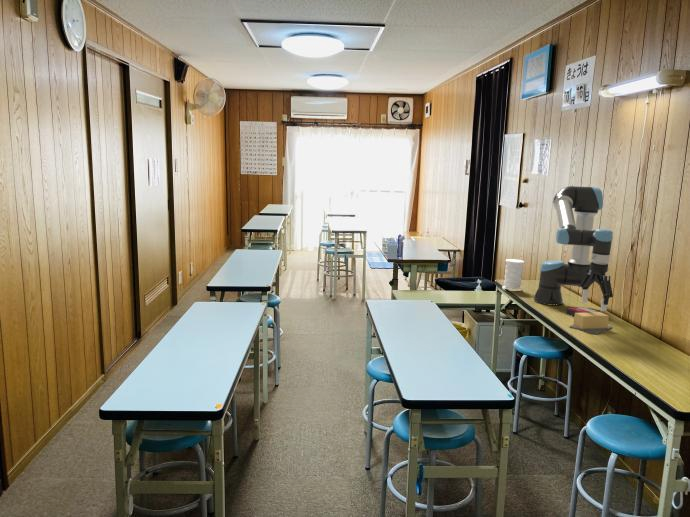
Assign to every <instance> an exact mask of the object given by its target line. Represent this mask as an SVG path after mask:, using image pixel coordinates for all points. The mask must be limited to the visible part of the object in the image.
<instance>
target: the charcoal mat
mask: <svg viewBox="0 0 690 517" xmlns="http://www.w3.org/2000/svg"><path fill="white" fill-rule="evenodd" d="M569 328H571V329H574V328H575V329H574V330H578V329H579V331H582V330H583V332H587V333H590V334H594V335H599V333H600V334H602V333H604V332H607V331H609V330H611V329H613V326H610V325H608V327H607V328H593V329H581V328H579V327H577V326H574V325H573V324H572V325H569ZM601 332H602V333H601Z"/></svg>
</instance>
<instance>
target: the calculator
mask: <svg viewBox="0 0 690 517" xmlns="http://www.w3.org/2000/svg"><path fill="white" fill-rule="evenodd" d="M588 312H599V311H598V310H594V309H591V308H587V307H584V306H581V307H568V308H566V313H567V314H566V315H568V314H569V315H568V316H571V315H572V316H571V317H573V316H575V313H588ZM602 313H603V312H602ZM603 314H605V313H603Z"/></svg>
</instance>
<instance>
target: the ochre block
mask: <svg viewBox="0 0 690 517" xmlns="http://www.w3.org/2000/svg"><path fill="white" fill-rule="evenodd" d="M609 317H610V315H608V314H605V313H604V314H603V312H602V311H598V312H588V313H575V316H574V317H573V324H572V325H574V326H577V327H579V328H581V329H593V328H607V327H608V326H609V320H610V318H609Z"/></svg>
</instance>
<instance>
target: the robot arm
mask: <svg viewBox="0 0 690 517" xmlns="http://www.w3.org/2000/svg"><path fill="white" fill-rule="evenodd" d="M552 203H553V204H552V205H553V208H554V209H555V210H556V215H557V221H558V222H557V223H558V227H559V228H558V229H557V231H556V234H555V235H556V236H555V241H556V243H557V244H560V245H565V246H566V245H570V246H572V251H571V258H570V259H569V260H568V261H567V263H565V262H564V261H563V260H558V259H557V260H556V259H554V260H545V261H542V263H541V265H540V269H539V271H540V272H539V280H538V288H537V289H536V291H535V294H534V296H533V301H534V300H535V301H537V302H540V303H539V304H541V303H545V304H544V305H546V304H555V305H554V306H557V305H556V304H562V305H563V302H564V299H563V295H562V286H572V287H579V288H581V289H582V290H581V302H580V303H581V304H587V303H588V300H589V293H590V292H589V291H590V287H591V286H592V284H594V283H596V284H597V285H599V288H600V290H601V294H602V296H601V302H600V308H599V309H600V311H599V312H607V309H608V305H609V300H610V298H614V297H613V296H614V294H613V290H612V282H611V276H610V275H606V273H607V272H608V271H609V263H610V256H611V250H612V242H613V234H614V232H613V230H611V229H606V228H597V229H593V228H594V221H595V220H594V219H595V216H596V215H598V213H599V211H600V210H602V208H603V204H604V197H603V191H602V190H601V188H599V187H595V186H575V185H574V186H573V185H569V186H566V187H563V188H561V189H559V190H558V191H557V192H556V193H555V195H554V197H553V201H552ZM573 209H574V211H573ZM574 213H575V214H576V217H574ZM575 218H576V219H575ZM591 247H592V252H590V250H591ZM590 253H591V259H590V260H591V261H590V260H589V258H590ZM535 301H534V302H535ZM537 302H536V303H537Z"/></svg>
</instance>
